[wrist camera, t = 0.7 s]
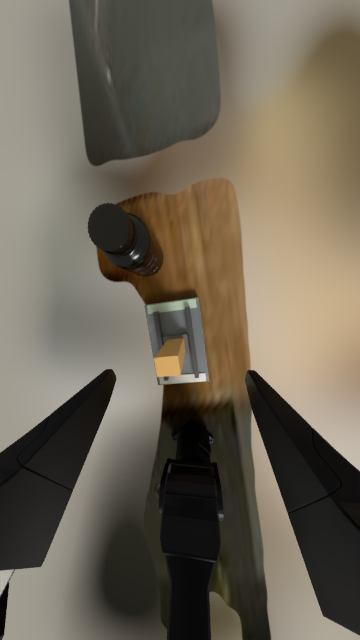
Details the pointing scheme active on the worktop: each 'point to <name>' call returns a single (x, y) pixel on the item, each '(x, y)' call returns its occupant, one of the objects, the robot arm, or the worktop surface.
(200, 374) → the grey rail base
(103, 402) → the robot arm
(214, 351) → the worktop surface
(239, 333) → the worktop surface
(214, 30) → the worktop surface
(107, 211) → the supplement bottle
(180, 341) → the handle
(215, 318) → the worktop surface
